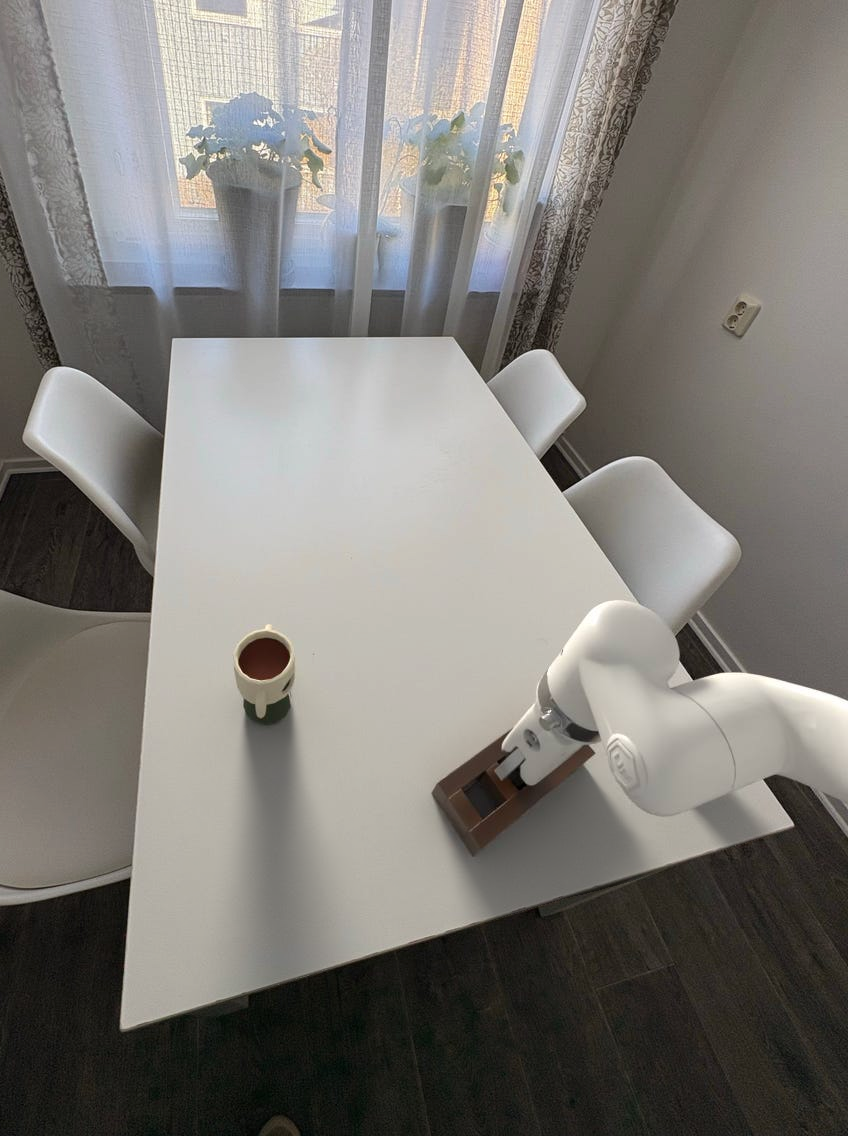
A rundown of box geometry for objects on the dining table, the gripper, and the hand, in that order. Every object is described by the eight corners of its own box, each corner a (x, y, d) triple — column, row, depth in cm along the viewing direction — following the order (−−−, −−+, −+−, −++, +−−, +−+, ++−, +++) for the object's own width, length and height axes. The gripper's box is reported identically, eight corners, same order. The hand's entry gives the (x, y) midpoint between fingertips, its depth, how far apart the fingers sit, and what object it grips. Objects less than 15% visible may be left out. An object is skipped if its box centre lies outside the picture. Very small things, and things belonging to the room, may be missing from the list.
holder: (583, 764, 69) (596, 753, 66) (472, 857, 60) (481, 849, 58) (540, 712, 73) (550, 700, 71) (431, 792, 65) (437, 782, 62)
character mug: (291, 745, 67) (291, 701, 58) (234, 745, 66) (225, 700, 57) (297, 665, 75) (298, 615, 66) (246, 664, 74) (239, 613, 65)
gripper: (549, 783, 45) (492, 836, 58) (662, 690, 52) (589, 756, 65) (491, 707, 49) (449, 773, 62) (603, 631, 56) (545, 704, 69)
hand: (521, 764), depth 64 cm, fingers closed on peg, 3 cm apart
